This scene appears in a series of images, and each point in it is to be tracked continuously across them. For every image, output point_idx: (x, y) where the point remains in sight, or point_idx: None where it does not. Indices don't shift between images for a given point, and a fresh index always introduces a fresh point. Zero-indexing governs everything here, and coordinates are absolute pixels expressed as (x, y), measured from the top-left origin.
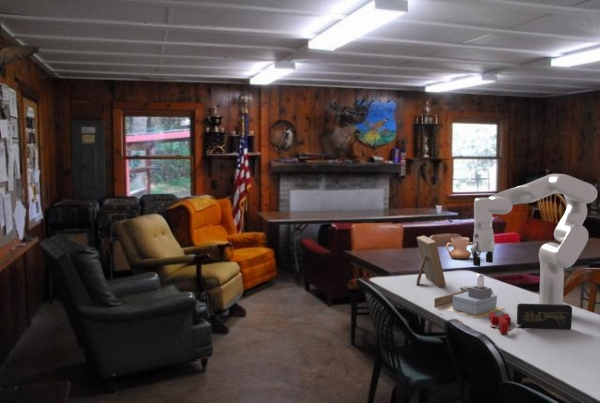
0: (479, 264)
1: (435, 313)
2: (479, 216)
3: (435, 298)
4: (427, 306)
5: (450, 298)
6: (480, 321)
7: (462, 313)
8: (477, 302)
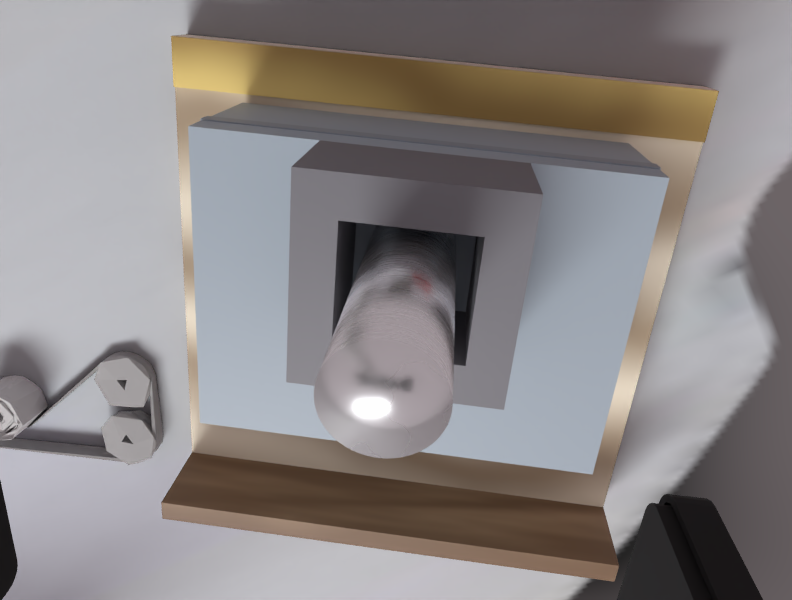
0: (728, 539)
1: (681, 458)
2: None
3: (615, 573)
4: (533, 572)
5: (394, 509)
6: (666, 62)
7: None
8: (634, 171)
